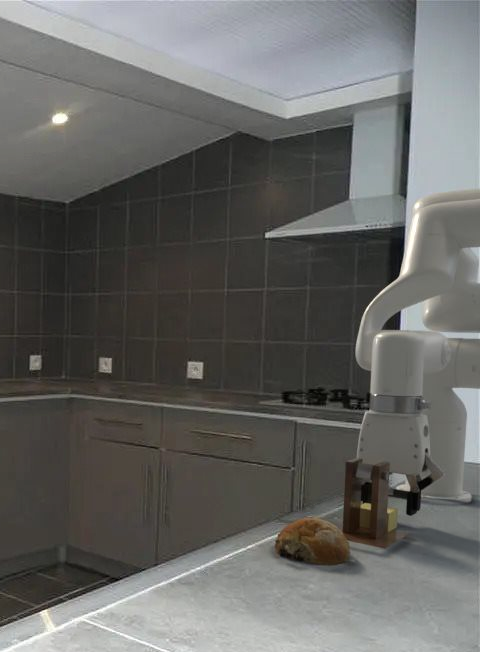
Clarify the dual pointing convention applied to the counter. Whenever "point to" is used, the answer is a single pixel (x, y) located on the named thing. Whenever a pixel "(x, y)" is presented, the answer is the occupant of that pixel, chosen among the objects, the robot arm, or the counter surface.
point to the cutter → (378, 507)
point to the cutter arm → (366, 474)
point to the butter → (366, 511)
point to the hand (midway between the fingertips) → (389, 509)
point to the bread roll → (313, 542)
